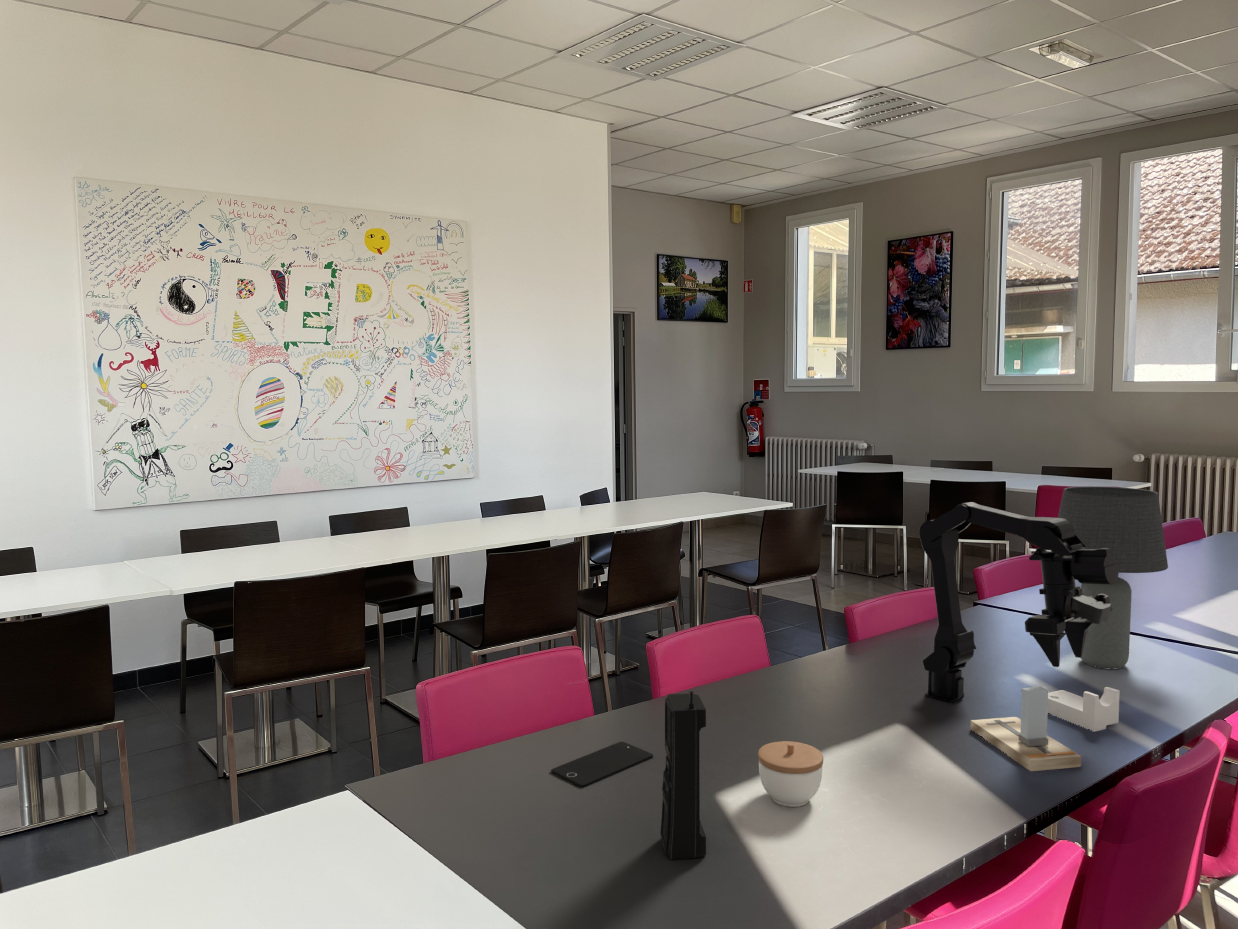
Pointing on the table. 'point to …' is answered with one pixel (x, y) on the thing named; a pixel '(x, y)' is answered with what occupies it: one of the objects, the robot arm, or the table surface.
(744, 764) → the table surface
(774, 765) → the lidded jar
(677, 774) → the portable radio
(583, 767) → the cell phone
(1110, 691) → the bracket
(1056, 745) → the slider board
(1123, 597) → the lamp
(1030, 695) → the fader tab
